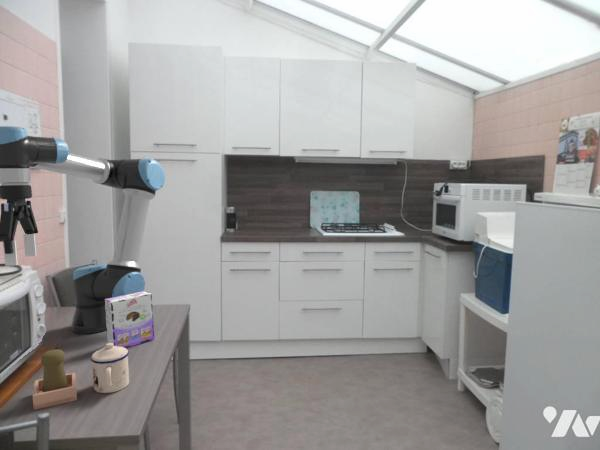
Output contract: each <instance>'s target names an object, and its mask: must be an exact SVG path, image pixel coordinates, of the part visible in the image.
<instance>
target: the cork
mask: <svg viewBox="0 0 600 450" xmlns="http://www.w3.org/2000/svg"><path fill="white" fill-rule="evenodd" d="M65 359H66V356H65V352H64V351H63V350H62V349H49V350H47V351H45V352H44V353H43V354H42V355H41V358H40V363H41V365H42V366H43V376H42V379H43V389H42V393H43V392H48V391H53V390H57V389H62V388H67V387H68V383H67V379H66V375H65V374H66V371H65V367H64V361H65Z"/></svg>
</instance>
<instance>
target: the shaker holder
mask: <svg viewBox="0 0 600 450" xmlns="http://www.w3.org/2000/svg"><path fill="white" fill-rule="evenodd" d="M65 375H66V379H67V383H68V387H67V388H62V389H57V390H53V391H48V392H43V393H42V389H43V378H40V379H36V380H34V385H33V392H32V404H33V411H35V410H39V409H40V410H41V409H43V408H49V407H53V406H57V405H61V404H65V403H71V402H74V401H78V400H77V399H78V397H77V396H78V395H77V393H78V392H77V378H76V377H77V376H76V372H71V373H65Z"/></svg>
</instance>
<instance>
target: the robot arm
mask: <svg viewBox="0 0 600 450" xmlns="http://www.w3.org/2000/svg"><path fill="white" fill-rule="evenodd" d="M69 148H70V147H69V146H68V144H67V142H66V141H65V140H64V139H61V138H57V137H56V138H55V137H47V136H46V137H44V136H30V135H28V133H27V129H26V128H25V127H22V126H21V127H20V126H12V125H11V126H8V125H7V126H5V125H4V126H2V125H1V126H0V199H1V200H6V203H2V202H1V204H0V243H1V242H2V247H3V248H2V249H3V256H4V266H5V267H11V266H12V267H13V266H18V265H19V262H18V261H19V260H18V252H17V241H16V240H15V236H16V232H17V227H18V223H19V224H20V226H21V229H22V230H23V232H24V234H23V235H22V236H23V245H24V255H25V257H37V246H36V244H37V243H36V234H38V233H39V230H38V226H37V223H36V219H35V216H34V212H33V211H34V210H33V208H32V201H31V200H29V199H31V198H32V197H33V193H32V192H33V191H32V186H31V185H30V183H32V179H31V169H30V168H34V169H39V170H43V171H47V172H48V171H49V172H53V173H57V174H62V175H63V174H64V175H67V176H72V177H77V178H80V179H81V178H82V179H87V180H91V181H92V182H93V183H95V184H99V185H101V186H102V185H103V186H107V187H110V188H114V189H119V190H121V191H122V193H123V195H125V196H124V201H123V202H124V203H123V207H122V211H121V216H120V222H119V225H118V232H117V236H116V241H115V246H114V249H113V250H114V252H113V254H112V255H113V256H112V260H111V261H109V262H107V263H101V264H91V265H88V266H82V267H78V268H77V269H75V270H74V271H73V273H72V275H73V277H72V282H73V293H74V305H75V307H74V308H75V309H74V313H73V317H72V321H71V331H72V332H73V333H75V334H82V335H84V334H96V333H100V332H105V331H107V327H106V311H105V299H108V298H113V297H118V296H123V295H127V294H132V293H137V292H142V291H145V288H146V280H145V276H144V274H142V273H141V270H142V267H141V266H140V265H139V258H140V252H141V248H142V241H143V239H144V237H143V236H144V232H145V227H146V222H147V216H148V212H149V211H148V210H149V207H150V201H151V200H153V199H155V197H156V191H158V190H162V189H161V188H163V187H164V185H165V180H166V179H165V177H166V176H165V172H164V169H163V166H162V165H161V164H160V163H159V162H158V161H157V160H155V159H153V158H144V157H142V158H132V159H131V158H129V159H126V158H125V159H105V158H101V157H100V158H96V159H95V158H91V157H88V156H84V155H80V154H75V153H72V152H69V151H70V150H69ZM26 199H27V200H26Z"/></svg>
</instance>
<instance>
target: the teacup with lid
mask: <svg viewBox="0 0 600 450" xmlns="http://www.w3.org/2000/svg"><path fill="white" fill-rule="evenodd" d="M90 360H91V363H92V378H93V389H94V391H95V392H97V393H99V394H112V393H116V392H118V391H121V390H123V389H125V388H126V387H127V386H128V385H129V384H130V372H129V371H130V370H129V351H128V348H124V347H118V346H114V345H113V343H108V342H107V343H106V344H105V346H104V347H102V348H100V349H98V350H96V351H95V352H94V353H93V354H92V355H91V358H90Z"/></svg>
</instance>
